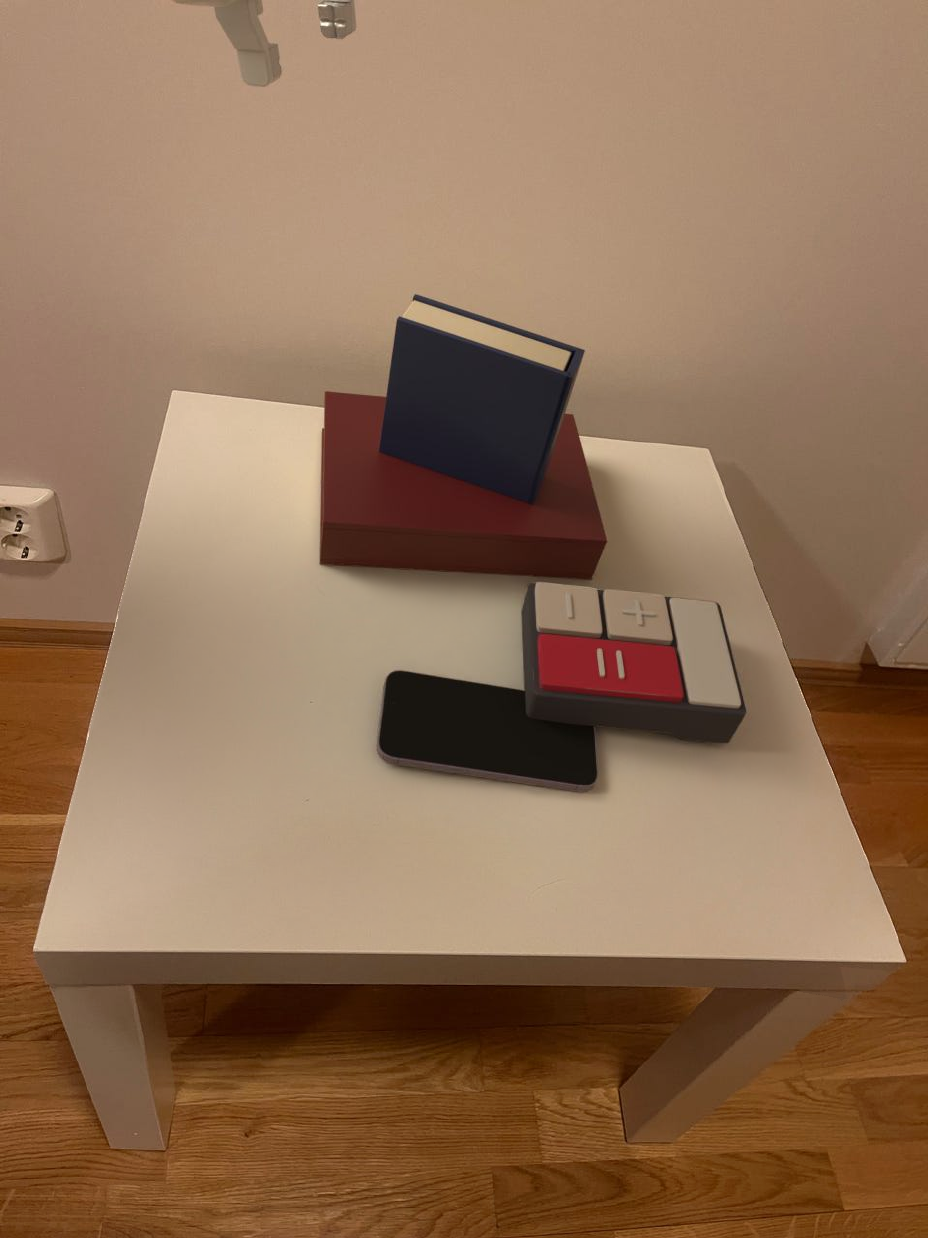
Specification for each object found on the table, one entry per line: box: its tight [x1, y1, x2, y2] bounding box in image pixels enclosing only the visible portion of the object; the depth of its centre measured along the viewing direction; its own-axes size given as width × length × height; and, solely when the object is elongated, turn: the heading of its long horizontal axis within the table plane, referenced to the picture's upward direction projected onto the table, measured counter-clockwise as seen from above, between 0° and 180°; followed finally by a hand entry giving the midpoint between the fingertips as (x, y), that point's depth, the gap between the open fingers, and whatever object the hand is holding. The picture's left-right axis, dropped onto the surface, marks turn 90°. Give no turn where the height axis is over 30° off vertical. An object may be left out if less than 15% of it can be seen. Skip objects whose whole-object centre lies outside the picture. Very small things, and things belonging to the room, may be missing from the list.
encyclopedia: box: [319, 390, 608, 581], centre depth 76 cm, size 22×16×4 cm
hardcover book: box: [379, 293, 586, 505], centre depth 69 cm, size 4×13×12 cm, turn 73°
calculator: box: [521, 581, 747, 744], centre depth 66 cm, size 11×4×15 cm
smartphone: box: [375, 669, 599, 793], centre depth 62 cm, size 7×1×15 cm
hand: (303, 57), depth 54 cm, fingers open, 8 cm apart
